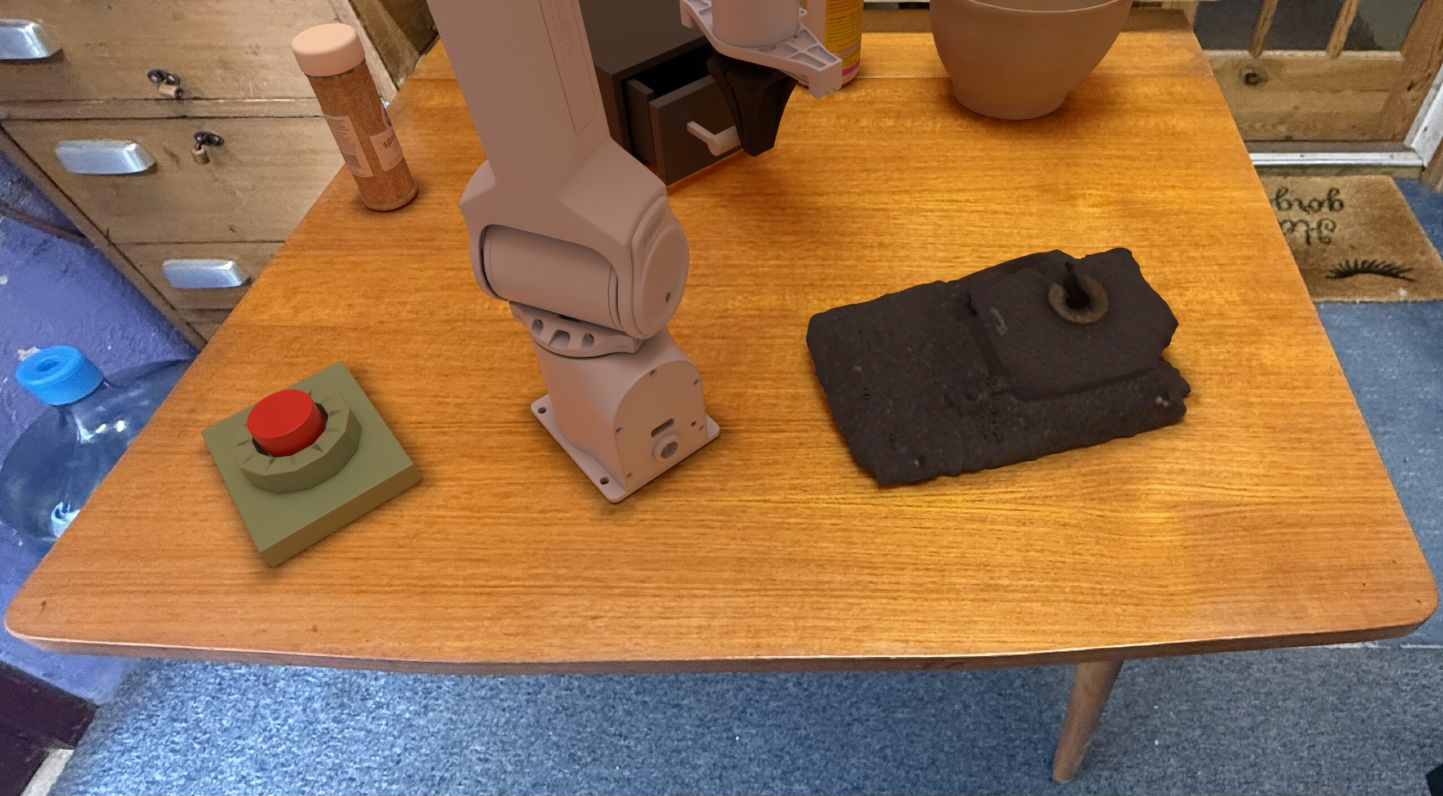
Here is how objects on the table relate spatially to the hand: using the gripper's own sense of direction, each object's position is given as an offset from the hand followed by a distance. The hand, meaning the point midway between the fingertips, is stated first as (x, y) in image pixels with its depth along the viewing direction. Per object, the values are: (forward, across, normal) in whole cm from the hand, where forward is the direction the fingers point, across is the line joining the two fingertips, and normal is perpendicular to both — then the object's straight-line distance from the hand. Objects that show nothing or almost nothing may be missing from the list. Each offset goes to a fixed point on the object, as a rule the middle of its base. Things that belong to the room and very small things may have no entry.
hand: (758, 149), depth 62 cm
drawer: (+4, +9, 0) cm, 10 cm away
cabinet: (+4, +17, 0) cm, 17 cm away
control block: (+4, -2, +37) cm, 37 cm away
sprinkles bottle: (+5, +21, +22) cm, 31 cm away
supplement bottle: (+5, +11, -17) cm, 21 cm away
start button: (+1, -2, +37) cm, 37 cm away
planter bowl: (+5, -3, -26) cm, 27 cm away
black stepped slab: (+5, -23, +1) cm, 24 cm away
